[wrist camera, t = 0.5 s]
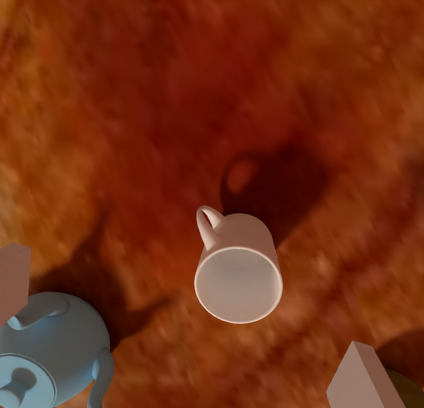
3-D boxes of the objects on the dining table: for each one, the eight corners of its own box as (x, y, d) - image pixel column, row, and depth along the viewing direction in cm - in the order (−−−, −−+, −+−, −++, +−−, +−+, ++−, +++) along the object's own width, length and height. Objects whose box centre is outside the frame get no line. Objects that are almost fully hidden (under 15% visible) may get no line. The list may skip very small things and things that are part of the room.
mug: (233, 176, 36) (228, 199, 26) (285, 250, 38) (300, 299, 28) (179, 213, 38) (155, 247, 28) (231, 281, 40) (227, 337, 30)
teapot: (146, 344, 45) (112, 424, 33) (65, 390, 50) (9, 473, 38) (73, 260, 42) (7, 315, 30) (-6, 317, 47) (-90, 383, 35)
